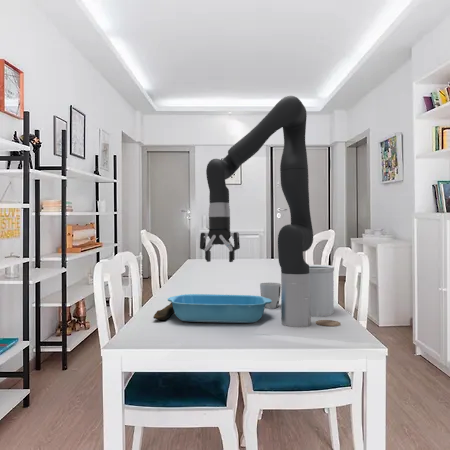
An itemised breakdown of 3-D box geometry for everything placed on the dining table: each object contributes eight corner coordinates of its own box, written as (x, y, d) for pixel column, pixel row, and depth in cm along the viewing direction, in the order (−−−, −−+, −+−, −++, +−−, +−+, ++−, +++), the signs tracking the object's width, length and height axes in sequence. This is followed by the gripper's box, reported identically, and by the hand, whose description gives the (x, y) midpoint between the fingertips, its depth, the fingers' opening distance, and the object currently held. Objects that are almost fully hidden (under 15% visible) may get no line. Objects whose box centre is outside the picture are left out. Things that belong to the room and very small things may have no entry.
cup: (282, 311, 160) (282, 285, 160) (260, 311, 160) (260, 285, 160) (279, 307, 168) (279, 282, 168) (259, 307, 168) (259, 282, 168)
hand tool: (171, 300, 162) (182, 300, 161) (171, 310, 162) (183, 310, 161) (151, 309, 144) (164, 309, 143) (151, 321, 144) (164, 321, 143)
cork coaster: (341, 322, 141) (341, 320, 141) (339, 327, 133) (339, 325, 133) (317, 320, 144) (317, 319, 144) (313, 325, 136) (313, 324, 136)
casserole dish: (269, 312, 160) (269, 293, 160) (273, 325, 137) (273, 303, 137) (173, 311, 161) (173, 292, 162) (161, 324, 139) (161, 302, 139)
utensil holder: (302, 318, 147) (302, 268, 147) (287, 310, 162) (287, 264, 162) (341, 316, 150) (341, 267, 150) (323, 309, 165) (323, 264, 165)
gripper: (241, 216, 150) (242, 261, 150) (205, 216, 155) (205, 260, 155) (235, 215, 143) (235, 262, 143) (196, 216, 148) (196, 262, 148)
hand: (219, 261), depth 149 cm, fingers open, 8 cm apart
